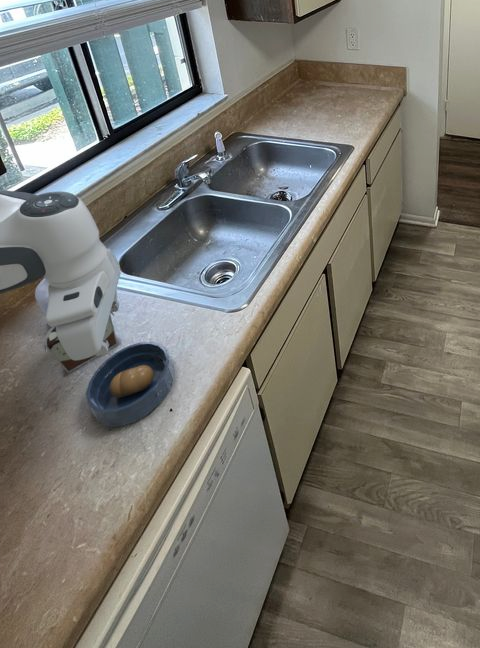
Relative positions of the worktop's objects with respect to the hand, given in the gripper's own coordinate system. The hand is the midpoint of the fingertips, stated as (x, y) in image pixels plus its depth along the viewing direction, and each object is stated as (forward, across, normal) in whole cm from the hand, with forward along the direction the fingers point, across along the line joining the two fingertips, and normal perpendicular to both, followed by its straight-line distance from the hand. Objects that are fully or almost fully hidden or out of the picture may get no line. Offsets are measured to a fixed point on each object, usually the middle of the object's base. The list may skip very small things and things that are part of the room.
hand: (109, 329), depth 81 cm
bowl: (+18, 0, 0) cm, 18 cm away
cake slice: (+18, -14, -11) cm, 25 cm away
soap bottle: (+18, -26, -17) cm, 35 cm away
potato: (+17, 0, 0) cm, 17 cm away
